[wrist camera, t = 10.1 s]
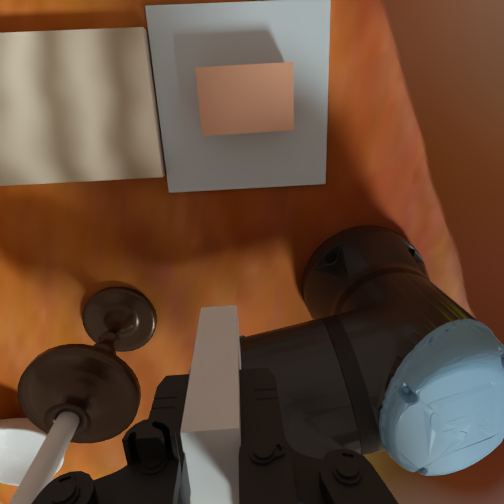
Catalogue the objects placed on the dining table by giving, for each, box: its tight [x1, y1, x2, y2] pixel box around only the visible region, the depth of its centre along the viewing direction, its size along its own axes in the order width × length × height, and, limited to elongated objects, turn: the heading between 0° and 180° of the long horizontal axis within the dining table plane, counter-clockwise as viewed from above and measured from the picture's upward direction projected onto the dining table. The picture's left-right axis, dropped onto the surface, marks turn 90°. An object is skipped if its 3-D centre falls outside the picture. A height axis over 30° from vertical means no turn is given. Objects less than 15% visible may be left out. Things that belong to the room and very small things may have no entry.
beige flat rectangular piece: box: [0, 27, 166, 186], centre depth 38 cm, size 18×14×2 cm
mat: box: [145, 0, 330, 193], centre depth 39 cm, size 18×18×1 cm
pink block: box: [195, 62, 294, 136], centre depth 37 cm, size 9×6×4 cm, turn 93°
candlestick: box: [9, 287, 157, 504], centre depth 32 cm, size 11×11×35 cm
